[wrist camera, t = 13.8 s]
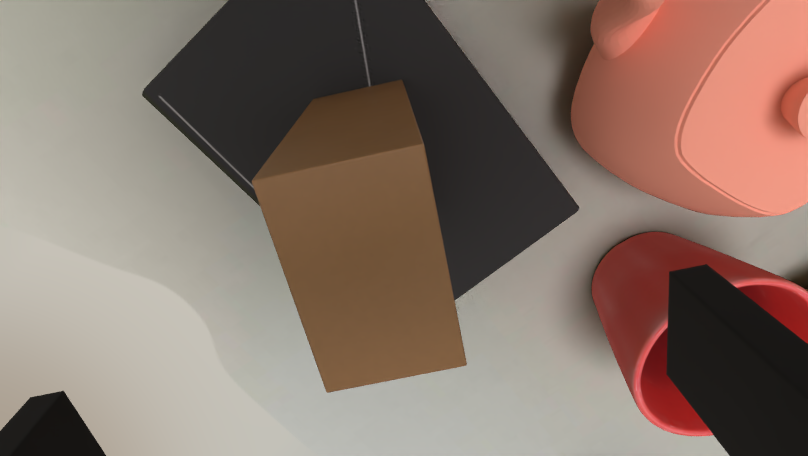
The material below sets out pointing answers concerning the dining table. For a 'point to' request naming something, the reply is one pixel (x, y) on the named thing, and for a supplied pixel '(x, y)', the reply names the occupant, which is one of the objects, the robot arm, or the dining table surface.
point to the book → (354, 69)
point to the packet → (362, 239)
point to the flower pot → (648, 315)
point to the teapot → (700, 102)
